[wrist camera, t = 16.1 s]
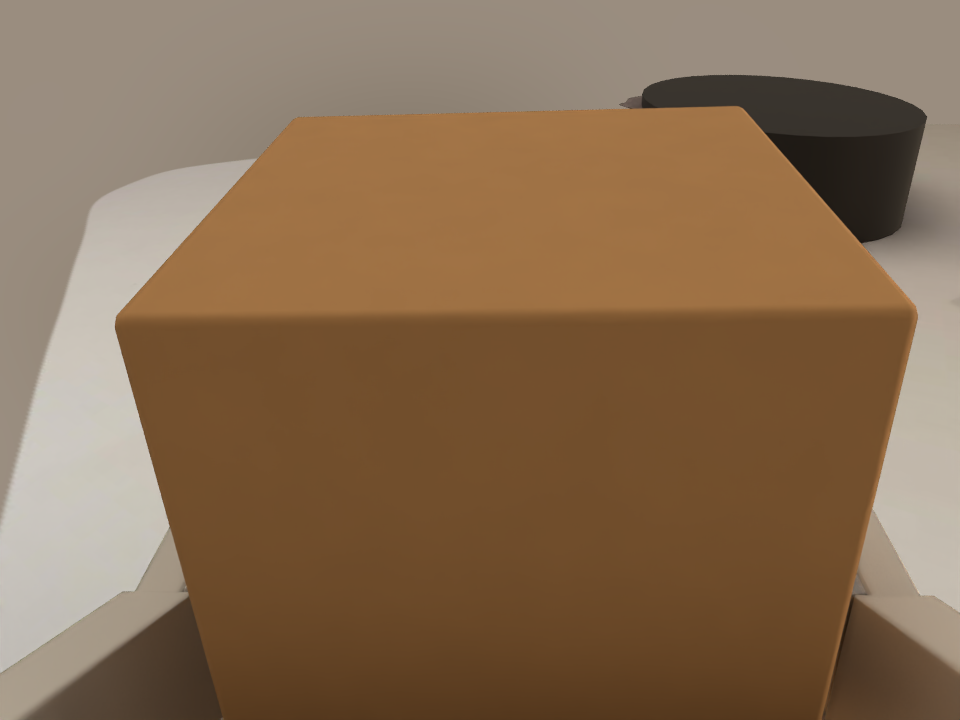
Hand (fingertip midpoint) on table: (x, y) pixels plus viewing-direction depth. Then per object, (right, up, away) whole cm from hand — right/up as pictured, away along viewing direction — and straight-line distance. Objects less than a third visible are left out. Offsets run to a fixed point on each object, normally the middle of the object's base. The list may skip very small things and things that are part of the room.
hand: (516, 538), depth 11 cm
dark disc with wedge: (+18, +13, +46) cm, 51 cm away
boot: (0, -5, +5) cm, 7 cm away
